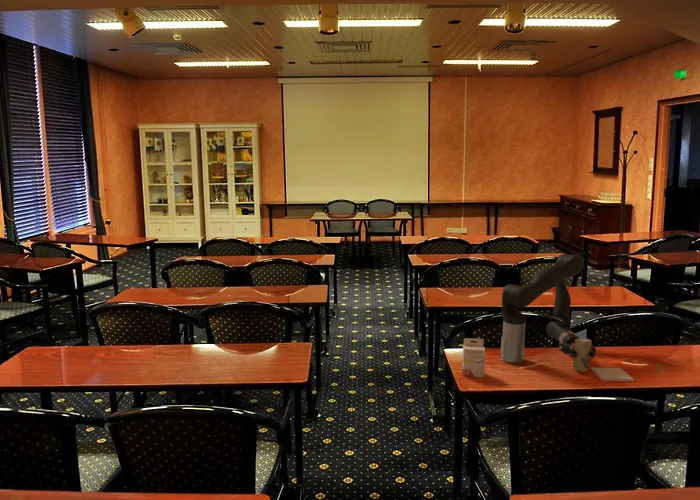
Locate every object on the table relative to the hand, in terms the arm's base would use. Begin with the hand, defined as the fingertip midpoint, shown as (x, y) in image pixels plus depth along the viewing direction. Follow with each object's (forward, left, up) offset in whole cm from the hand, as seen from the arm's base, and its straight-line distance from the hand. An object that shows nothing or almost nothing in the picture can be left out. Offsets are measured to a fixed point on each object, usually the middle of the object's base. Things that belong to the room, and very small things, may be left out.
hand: (584, 355), depth 226 cm
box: (0, +2, -7) cm, 8 cm away
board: (+11, -1, -8) cm, 14 cm away
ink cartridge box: (-45, -3, -8) cm, 46 cm away
